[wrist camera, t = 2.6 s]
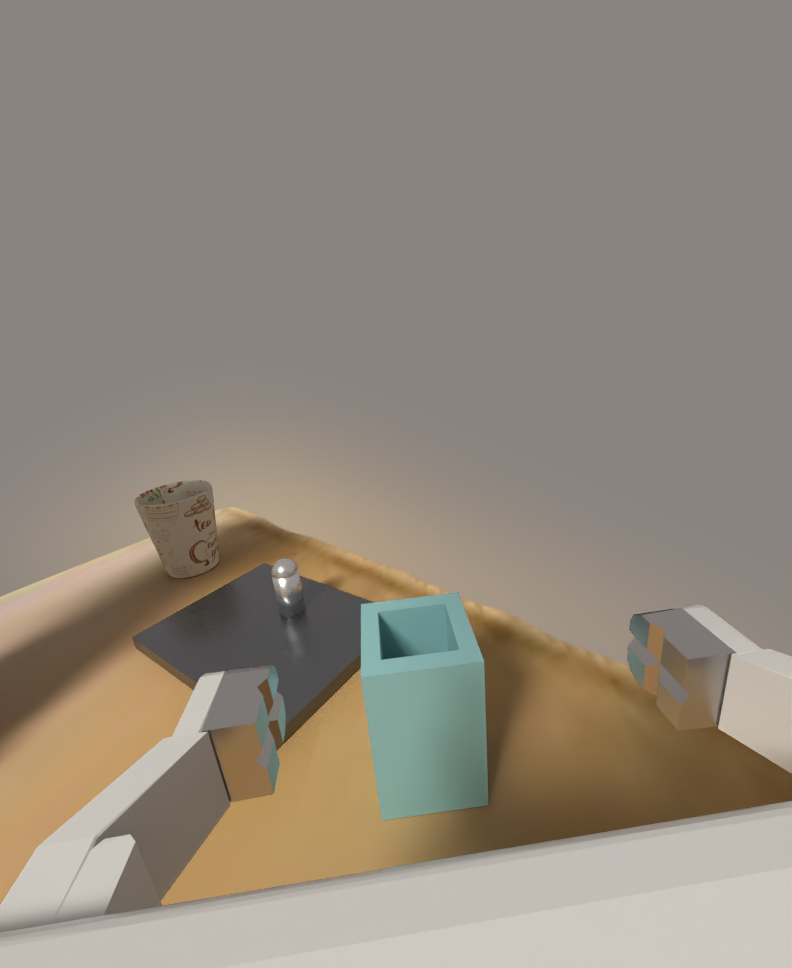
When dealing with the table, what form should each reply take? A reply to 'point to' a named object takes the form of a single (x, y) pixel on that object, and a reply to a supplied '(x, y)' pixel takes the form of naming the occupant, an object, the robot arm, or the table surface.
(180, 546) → the mug
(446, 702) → the sleeve
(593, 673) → the table surface
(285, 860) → the table surface
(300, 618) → the plate
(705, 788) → the table surface
